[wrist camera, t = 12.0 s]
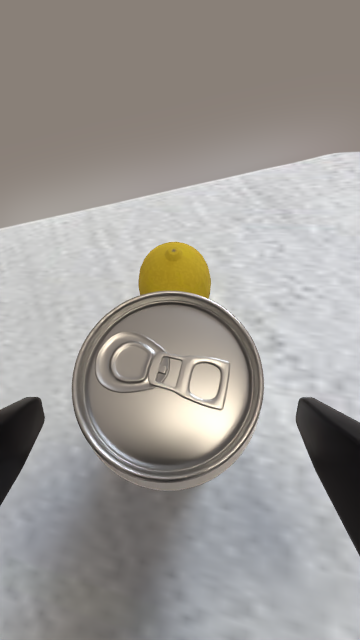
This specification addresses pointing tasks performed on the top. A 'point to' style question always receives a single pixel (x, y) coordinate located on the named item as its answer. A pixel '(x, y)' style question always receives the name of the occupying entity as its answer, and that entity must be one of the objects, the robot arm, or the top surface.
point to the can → (168, 390)
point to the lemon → (174, 270)
